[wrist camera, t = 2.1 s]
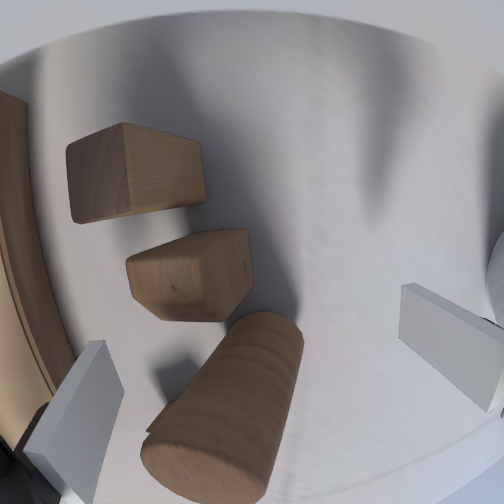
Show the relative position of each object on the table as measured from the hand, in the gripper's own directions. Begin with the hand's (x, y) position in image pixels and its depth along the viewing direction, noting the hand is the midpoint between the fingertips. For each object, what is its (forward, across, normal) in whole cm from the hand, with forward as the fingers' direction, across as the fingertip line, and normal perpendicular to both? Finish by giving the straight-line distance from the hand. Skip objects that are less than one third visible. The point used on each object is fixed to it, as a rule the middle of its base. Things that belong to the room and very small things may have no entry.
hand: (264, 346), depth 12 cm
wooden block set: (+6, -2, 0) cm, 6 cm away
